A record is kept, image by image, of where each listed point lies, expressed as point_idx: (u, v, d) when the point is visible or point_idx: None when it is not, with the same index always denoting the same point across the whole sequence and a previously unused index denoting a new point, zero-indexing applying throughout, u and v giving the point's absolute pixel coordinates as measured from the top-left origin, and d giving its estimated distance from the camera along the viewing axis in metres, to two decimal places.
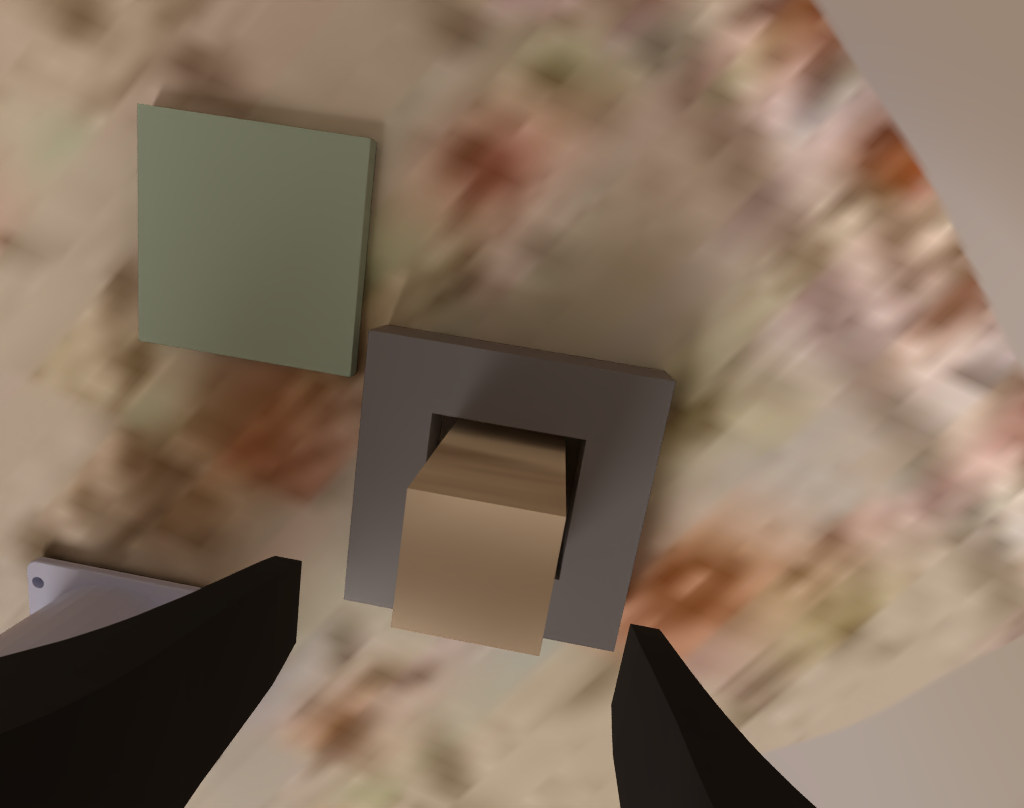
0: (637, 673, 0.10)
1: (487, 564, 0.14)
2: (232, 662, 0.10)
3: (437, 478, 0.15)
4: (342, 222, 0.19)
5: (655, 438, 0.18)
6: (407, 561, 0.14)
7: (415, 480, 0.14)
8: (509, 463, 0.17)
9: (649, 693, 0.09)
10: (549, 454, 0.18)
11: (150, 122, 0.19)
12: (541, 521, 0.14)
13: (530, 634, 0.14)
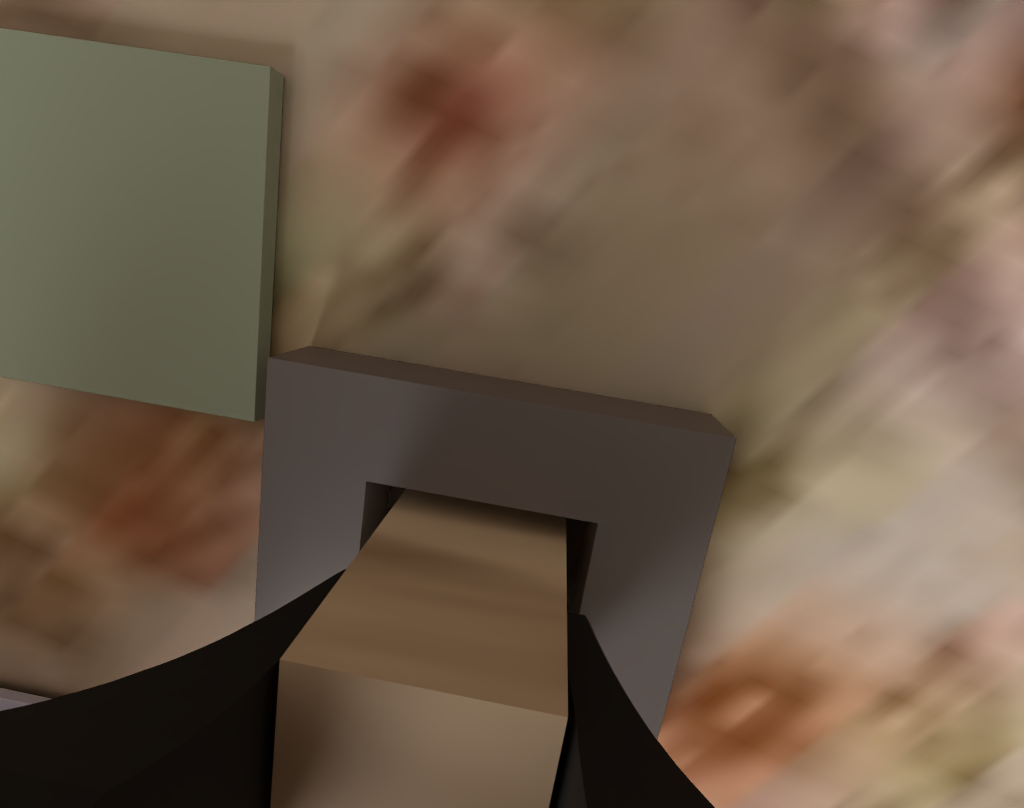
0: None
1: (426, 789, 0.08)
2: None
3: (345, 624, 0.09)
4: (233, 196, 0.13)
5: (703, 522, 0.12)
6: (287, 779, 0.08)
7: (302, 634, 0.08)
8: (476, 574, 0.10)
9: None
10: (542, 546, 0.12)
11: None
12: (522, 723, 0.07)
13: None
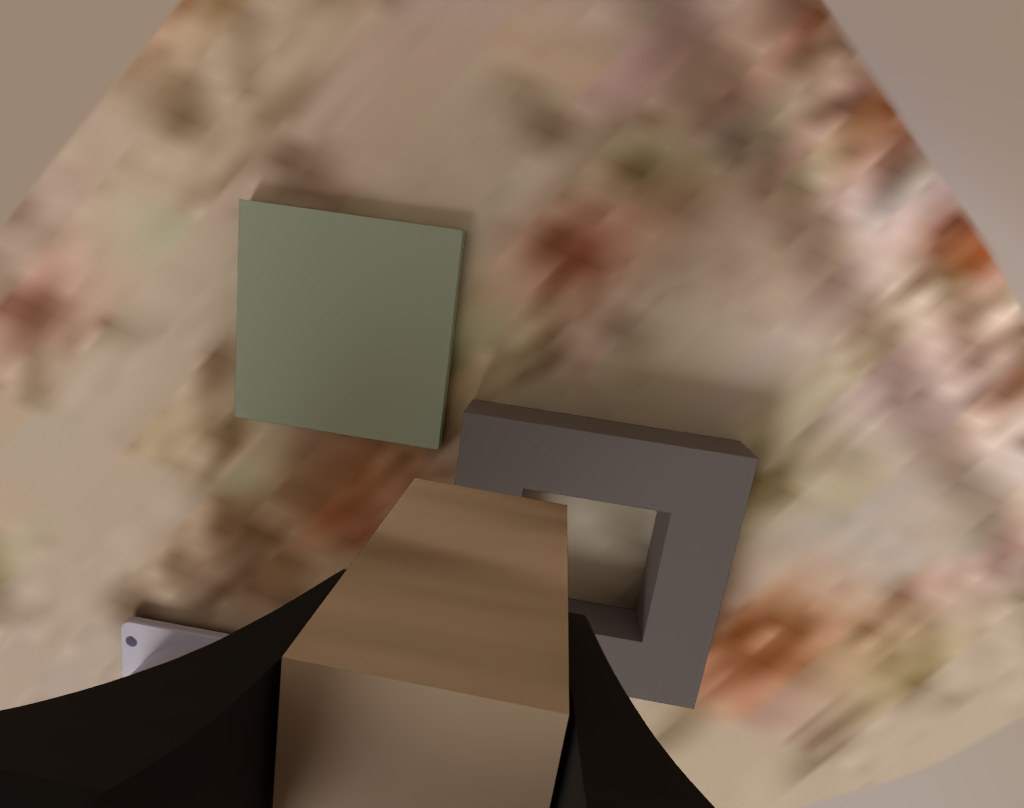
0: None
1: (428, 786, 0.08)
2: None
3: (347, 622, 0.09)
4: (434, 307, 0.20)
5: (737, 511, 0.19)
6: (289, 776, 0.08)
7: (304, 632, 0.08)
8: (478, 572, 0.10)
9: None
10: (543, 545, 0.12)
11: (251, 216, 0.20)
12: (524, 721, 0.08)
13: None
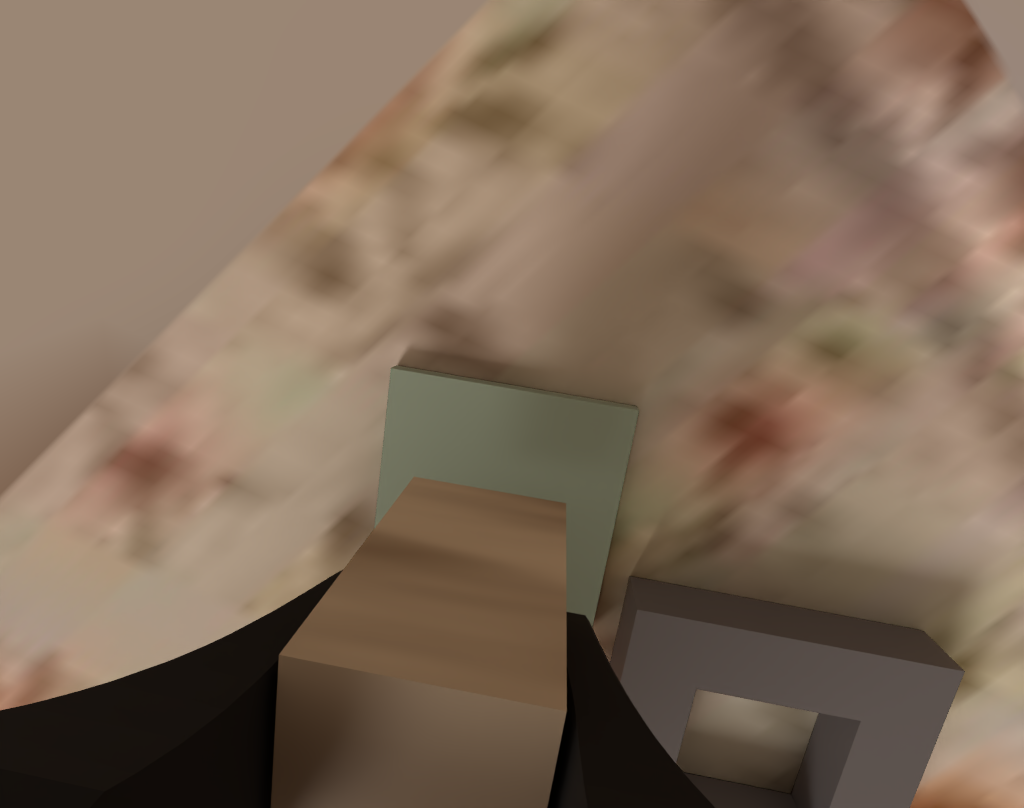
0: None
1: (427, 783, 0.08)
2: None
3: (344, 620, 0.09)
4: (599, 487, 0.18)
5: (935, 722, 0.17)
6: (287, 774, 0.08)
7: (301, 630, 0.08)
8: (475, 570, 0.10)
9: None
10: (542, 542, 0.12)
11: (403, 386, 0.18)
12: (521, 717, 0.07)
13: None
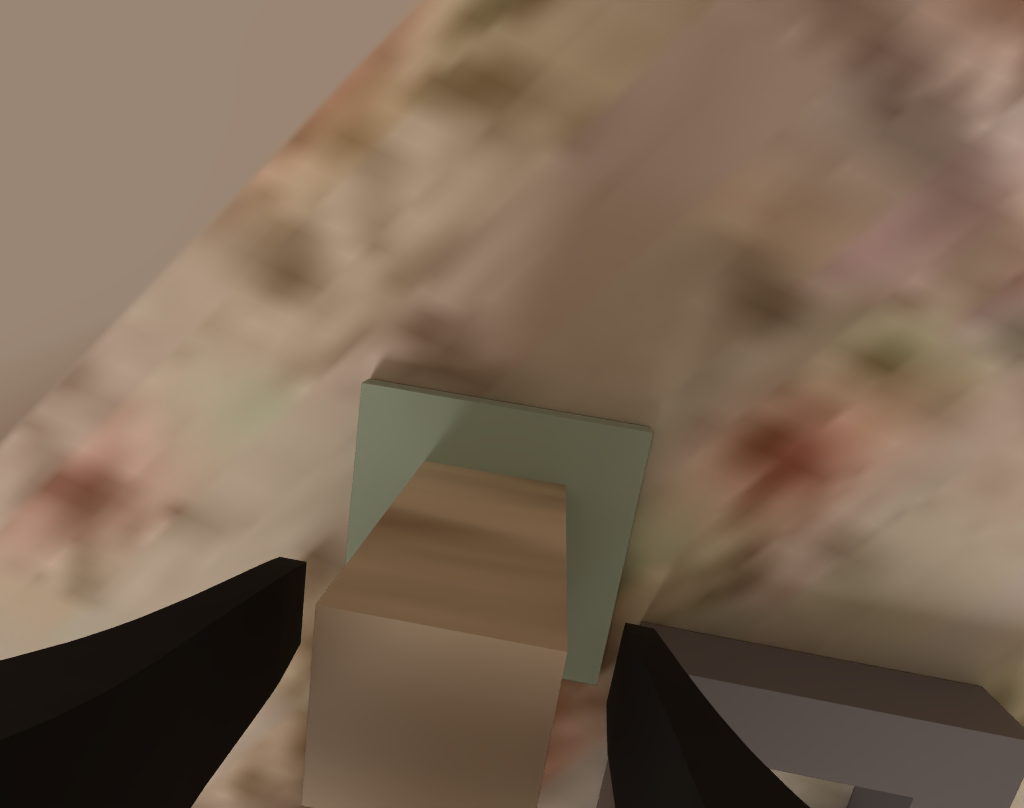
0: (631, 672, 0.10)
1: (444, 719, 0.09)
2: (237, 664, 0.10)
3: (370, 579, 0.10)
4: (606, 522, 0.15)
5: (1003, 801, 0.15)
6: (321, 712, 0.09)
7: (333, 585, 0.09)
8: (484, 540, 0.12)
9: (643, 692, 0.09)
10: (544, 518, 0.13)
11: (376, 403, 0.15)
12: (528, 658, 0.09)
13: None
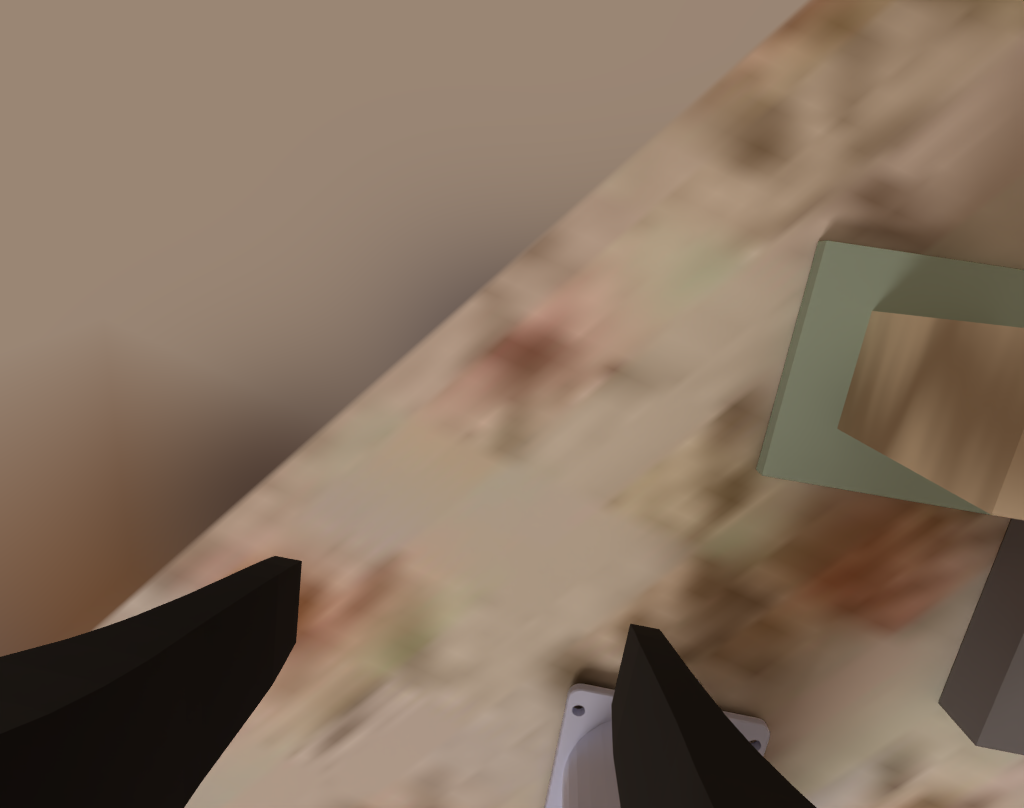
0: (637, 673, 0.10)
1: None
2: (232, 662, 0.10)
3: None
4: None
5: None
6: None
7: None
8: None
9: (649, 693, 0.09)
10: None
11: (836, 259, 0.18)
12: None
13: None
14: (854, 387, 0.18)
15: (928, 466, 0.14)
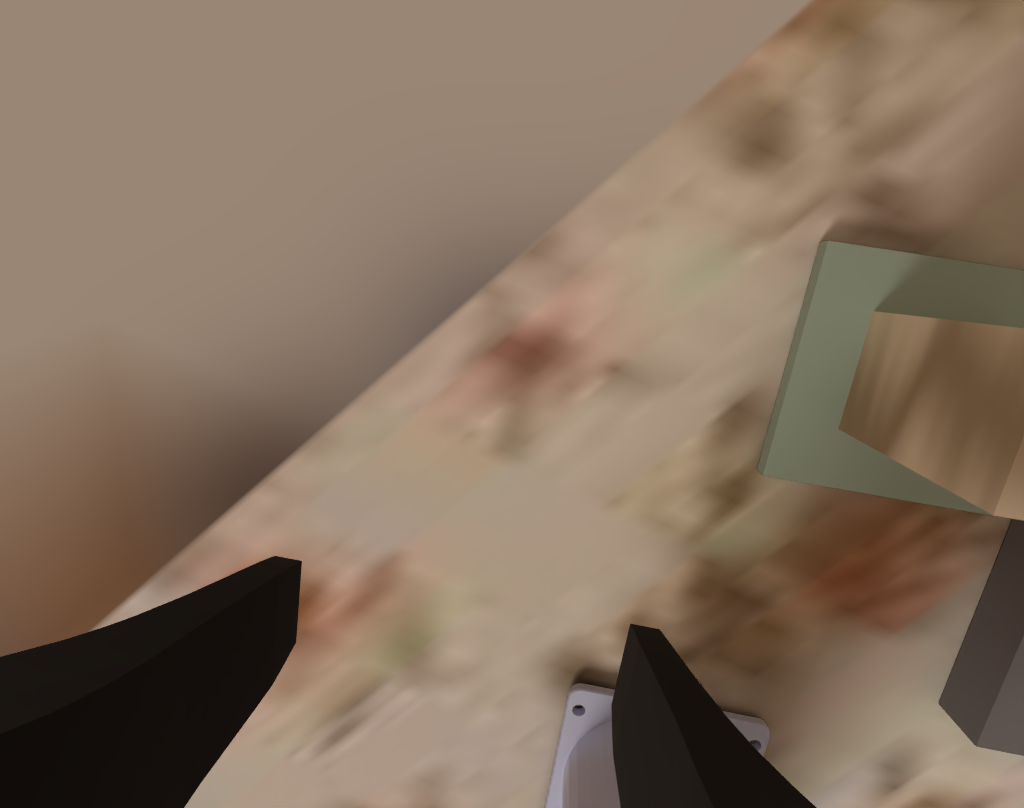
0: (637, 673, 0.10)
1: None
2: (232, 662, 0.10)
3: None
4: None
5: None
6: None
7: None
8: None
9: (649, 693, 0.09)
10: None
11: (838, 259, 0.18)
12: None
13: None
14: (855, 387, 0.18)
15: (930, 466, 0.14)
